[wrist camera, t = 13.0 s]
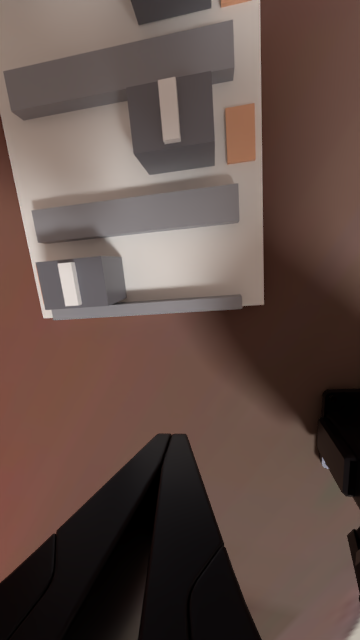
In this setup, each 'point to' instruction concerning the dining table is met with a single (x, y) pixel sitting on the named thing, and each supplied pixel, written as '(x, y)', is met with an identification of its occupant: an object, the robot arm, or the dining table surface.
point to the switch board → (117, 150)
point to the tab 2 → (166, 9)
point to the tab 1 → (81, 282)
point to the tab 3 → (173, 123)
